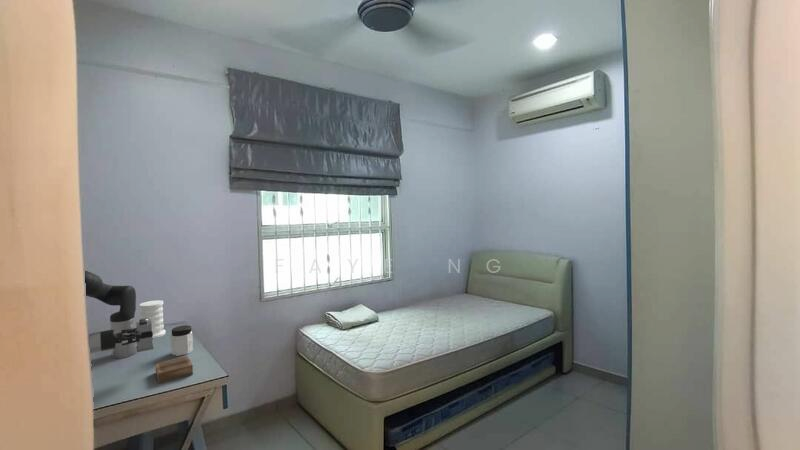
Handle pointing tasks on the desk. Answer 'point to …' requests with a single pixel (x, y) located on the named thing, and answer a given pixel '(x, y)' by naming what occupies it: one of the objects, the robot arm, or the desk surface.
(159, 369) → the stand
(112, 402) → the desk surface
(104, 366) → the desk surface
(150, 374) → the desk surface
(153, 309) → the decorative container
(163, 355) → the desk surface
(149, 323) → the block
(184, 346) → the jar
